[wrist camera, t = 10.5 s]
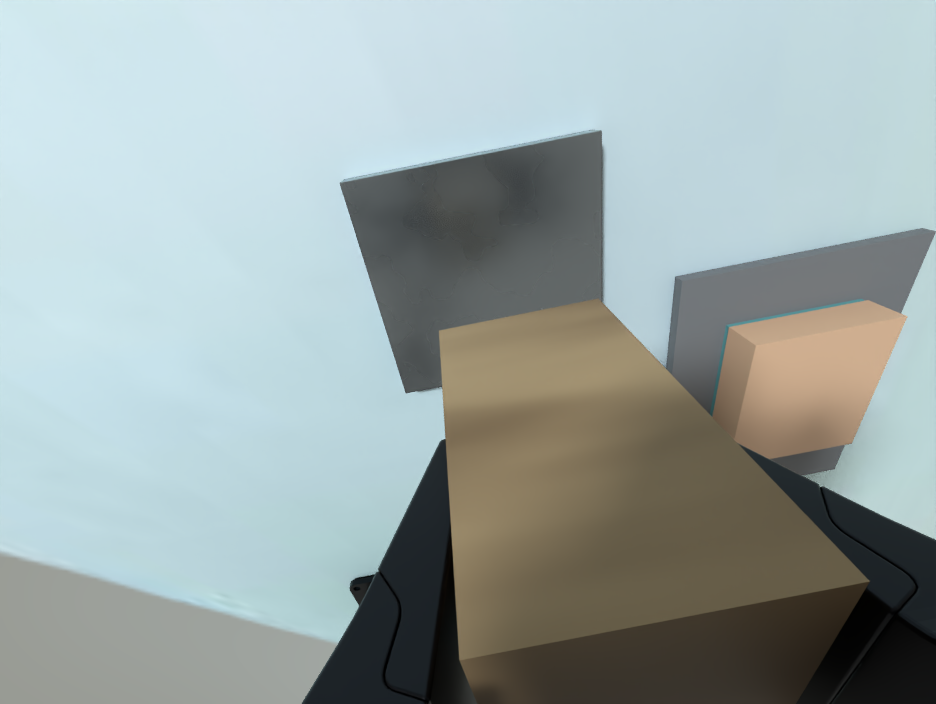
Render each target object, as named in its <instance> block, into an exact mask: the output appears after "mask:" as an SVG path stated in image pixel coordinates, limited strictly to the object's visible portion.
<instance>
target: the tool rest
mask: <svg viewBox="0 0 936 704" xmlns="http://www.w3.org/2000/svg"><path fill="white" fill-rule="evenodd" d="M340 186H341V189H342V192H343V195H344V198H345V202H346V205H347V208H348V211H349V214H350V218H351V221H352V224H353V227H354V230H355V233H356V237H357V240H358V243H359V246H360V249H361V252H362V256H363V259H364V262H365V265H366V268H367V272H368V275H369V278H370V281H371V284H372V287H373V291H374V294H375V297H376V300H377V303H378V306H379V310H380V313H381V316H382V319H383V322H384V326H385V329H386V332H387V335H388V338H389V341H390V345H391V348H392V351H393V354H394V357H395V360H396V364H397V367H398V370H399V373H400V376H401V380H402V383H403V386H404V389H405V392H406V393H410V392H415V391H420V390H425V389H431V388H436V387H441V386H442V373H441V357H440V341H439V330H444V329H449V328H454V327H459V326H464V325H469V324H474V323H479V322H484V321H489V320H494V319H499V318H504V317H509V316H514V315H519V314H524V313H529V312H534V311H539V310H544V309H549V308H554V307H559V306H564V305H569V304H574V303H578V302H583V301H588V300H593V299H599V300H600V301H601V302H602V131H601V130H589V131H584V132H579V133H574V134H569V135H564V136H559V137H554V138H549V139H544V140H539V141H534V142H529V143H524V144H519V145H514V146H509V147H504V148H499V149H494V150H489V151H484V152H479V153H474V154H469V155H464V156H459V157H454V158H449V159H444V160H439V161H434V162H429V163H424V164H419V165H414V166H409V167H404V168H399V169H394V170H389V171H384V172H379V173H374V174H369V175H364V176H359V177H354V178H349V179H344V180H343V181H342V182H340Z"/></svg>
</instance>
